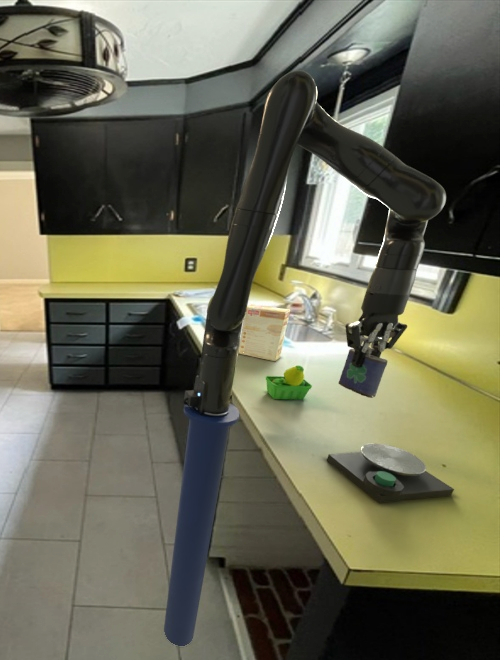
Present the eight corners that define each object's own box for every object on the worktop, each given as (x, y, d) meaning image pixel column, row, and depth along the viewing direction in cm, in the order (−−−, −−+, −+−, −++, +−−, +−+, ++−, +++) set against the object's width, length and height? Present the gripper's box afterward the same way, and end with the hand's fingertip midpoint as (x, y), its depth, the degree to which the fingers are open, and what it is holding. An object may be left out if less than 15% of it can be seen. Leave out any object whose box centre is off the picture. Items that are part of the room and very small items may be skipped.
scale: (378, 504, 69) (383, 492, 67) (324, 460, 82) (328, 448, 80) (453, 497, 71) (459, 484, 69) (389, 454, 84) (393, 443, 83)
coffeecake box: (280, 357, 146) (291, 309, 139) (275, 361, 141) (285, 312, 134) (243, 349, 155) (251, 304, 148) (237, 353, 150) (245, 306, 143)
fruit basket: (297, 391, 116) (305, 357, 112) (311, 403, 108) (321, 368, 104) (261, 390, 116) (268, 357, 112) (273, 402, 108) (281, 367, 104)
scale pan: (391, 478, 71) (392, 475, 71) (348, 447, 81) (349, 445, 81) (439, 473, 73) (440, 471, 72) (391, 443, 83) (392, 441, 82)
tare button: (383, 488, 69) (386, 481, 68) (370, 478, 72) (372, 471, 71) (397, 486, 69) (400, 480, 69) (383, 476, 72) (386, 470, 72)
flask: (377, 397, 82) (393, 353, 78) (367, 398, 82) (382, 353, 77) (344, 382, 91) (356, 340, 86) (334, 382, 90) (346, 341, 86)
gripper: (401, 287, 81) (376, 359, 88) (345, 287, 79) (324, 361, 86) (434, 292, 74) (404, 370, 81) (373, 293, 72) (348, 373, 79)
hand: (363, 365), depth 84 cm, fingers closed on flask, 3 cm apart
